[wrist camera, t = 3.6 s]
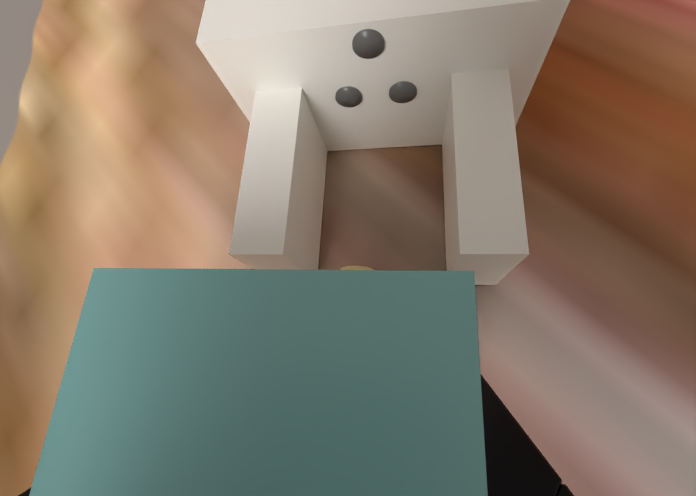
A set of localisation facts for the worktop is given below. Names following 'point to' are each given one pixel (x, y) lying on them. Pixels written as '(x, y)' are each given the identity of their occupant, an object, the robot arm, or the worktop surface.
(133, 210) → the worktop surface
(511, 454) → the robot arm
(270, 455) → the teal rectangular block
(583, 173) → the worktop surface
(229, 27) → the socket
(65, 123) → the worktop surface
